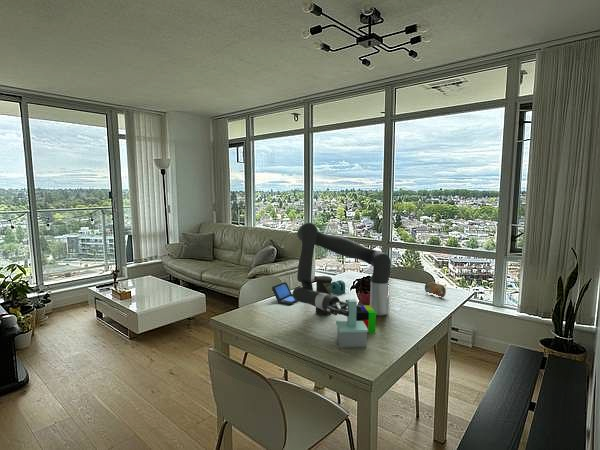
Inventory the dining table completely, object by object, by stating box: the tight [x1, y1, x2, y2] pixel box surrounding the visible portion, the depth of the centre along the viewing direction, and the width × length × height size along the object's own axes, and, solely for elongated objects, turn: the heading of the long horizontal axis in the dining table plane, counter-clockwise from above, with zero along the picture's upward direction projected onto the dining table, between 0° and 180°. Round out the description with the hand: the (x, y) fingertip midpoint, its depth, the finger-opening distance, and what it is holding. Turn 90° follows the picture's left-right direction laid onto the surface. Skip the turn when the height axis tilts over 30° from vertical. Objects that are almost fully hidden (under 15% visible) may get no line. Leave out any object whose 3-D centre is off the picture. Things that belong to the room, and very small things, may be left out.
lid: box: [335, 298, 368, 333], centre depth 146 cm, size 12×10×12 cm
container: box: [314, 275, 333, 317], centre depth 183 cm, size 9×9×20 cm
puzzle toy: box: [356, 304, 377, 334], centre depth 162 cm, size 10×10×10 cm
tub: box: [336, 326, 368, 349], centre depth 147 cm, size 11×9×7 cm
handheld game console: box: [271, 281, 298, 306], centre depth 205 cm, size 16×13×9 cm
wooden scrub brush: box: [424, 281, 447, 298], centre depth 215 cm, size 15×3×8 cm, turn 25°
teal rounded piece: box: [331, 279, 346, 296], centre depth 226 cm, size 18×7×8 cm, turn 42°
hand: (355, 311), depth 145 cm, fingers open, 8 cm apart
